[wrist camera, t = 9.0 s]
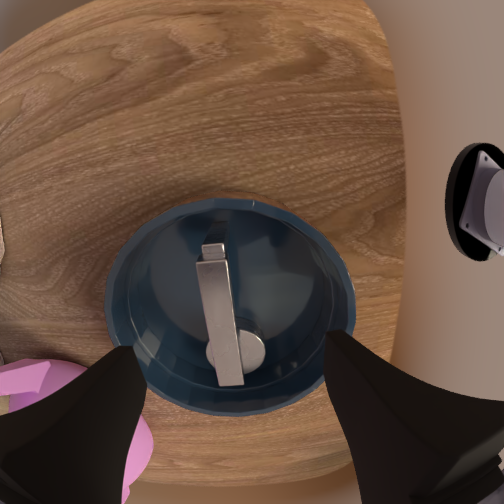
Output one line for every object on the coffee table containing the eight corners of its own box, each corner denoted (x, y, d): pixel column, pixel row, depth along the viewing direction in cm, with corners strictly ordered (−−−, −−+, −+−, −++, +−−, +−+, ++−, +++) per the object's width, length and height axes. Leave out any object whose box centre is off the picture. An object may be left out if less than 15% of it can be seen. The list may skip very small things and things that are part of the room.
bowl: (364, 232, 18) (396, 252, 14) (287, 389, 22) (294, 429, 17) (156, 162, 16) (129, 162, 12) (120, 344, 20) (100, 380, 16)
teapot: (188, 463, 25) (179, 547, 14) (87, 454, 26) (63, 518, 14) (99, 308, 19) (14, 419, 7) (-4, 321, 19) (-69, 383, 8)
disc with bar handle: (265, 359, 20) (273, 420, 14) (212, 363, 20) (205, 424, 14) (253, 218, 17) (260, 246, 11) (187, 225, 17) (161, 256, 11)
